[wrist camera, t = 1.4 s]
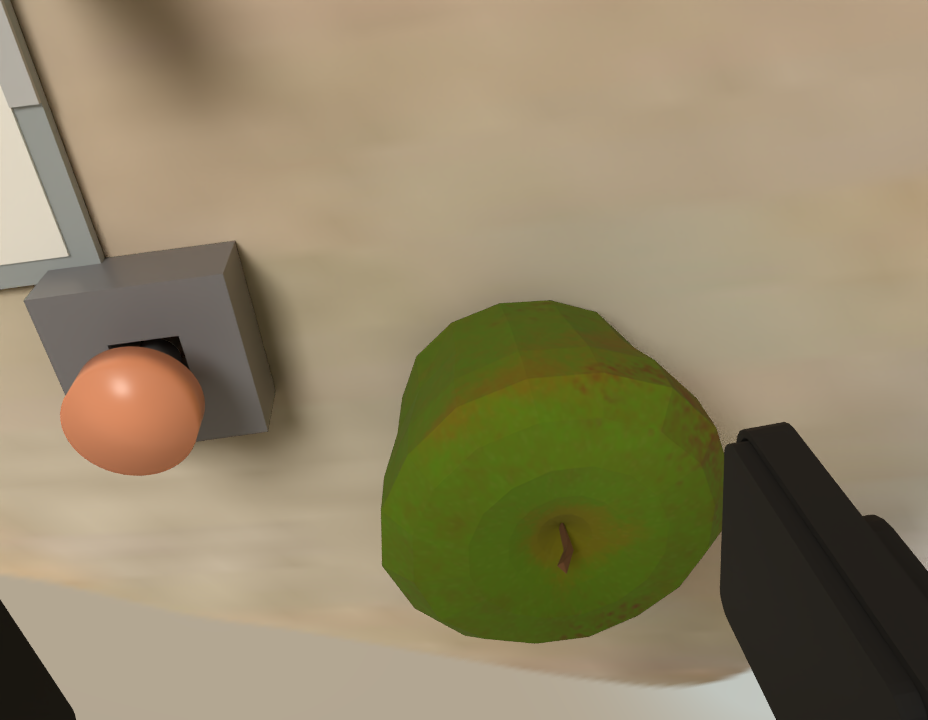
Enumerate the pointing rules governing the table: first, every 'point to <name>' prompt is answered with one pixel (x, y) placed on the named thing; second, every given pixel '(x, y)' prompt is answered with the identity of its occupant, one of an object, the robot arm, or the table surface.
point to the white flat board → (35, 175)
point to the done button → (134, 409)
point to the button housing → (164, 325)
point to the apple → (545, 477)
